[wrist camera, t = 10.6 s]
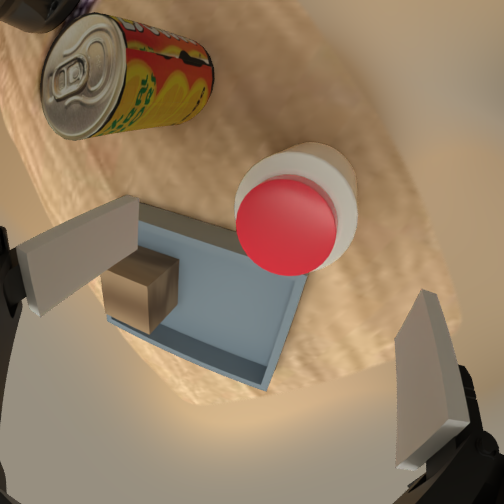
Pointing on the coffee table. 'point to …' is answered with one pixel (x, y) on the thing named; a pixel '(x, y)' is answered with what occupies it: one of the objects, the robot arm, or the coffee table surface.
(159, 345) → the blue-grey tray
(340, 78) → the coffee table surface
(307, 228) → the pill bottle
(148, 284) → the walnut cube
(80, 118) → the beverage can
